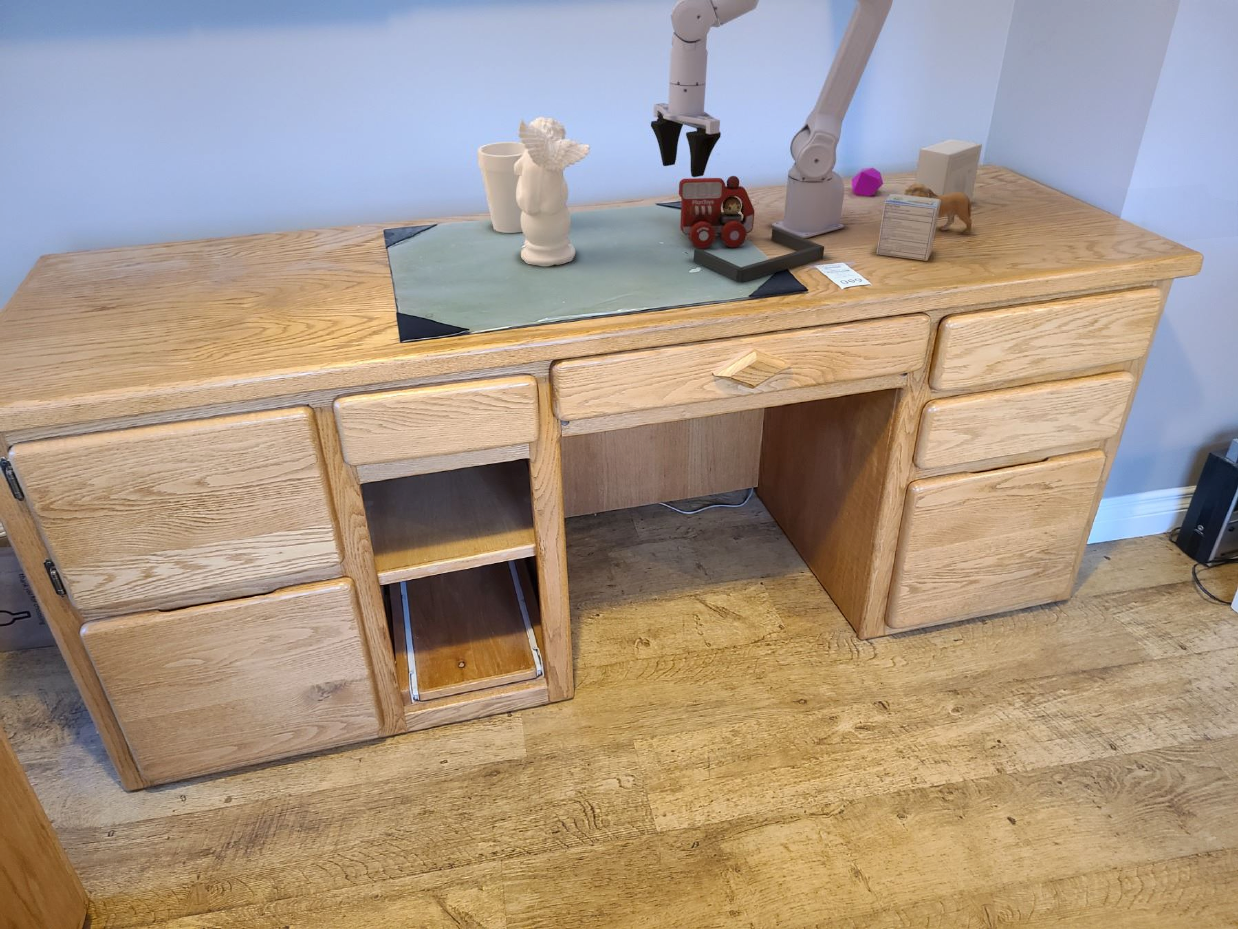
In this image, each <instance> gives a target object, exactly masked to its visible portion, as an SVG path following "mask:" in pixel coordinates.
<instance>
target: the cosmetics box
mask: <svg viewBox="0 0 1238 929" xmlns="http://www.w3.org/2000/svg"><path fill="white" fill-rule="evenodd" d="M982 148H983V144H982V143H980V142H973V141H967V140H961V139H954V138H950V139H947V140H944V141H941V142H937V143H935V144H931V145H928V146H926V147H922V148H919V153H918V161H917V168H916V174H915V179H914V184H919V183H920V184H923V185H925V187H926V188H928V189H930V190H931V191H932V192H933V193H934V194H936V195H937V196H941V195H946V194H949V193H953V192H960V193H964V194H965V195H967V196H968V198H969V199H970V203H971V204H972V200H973V196H974V189H975V183H976V178H977V172H978V168H979V162H980V157H981V153H982Z"/></svg>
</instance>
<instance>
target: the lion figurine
mask: <svg viewBox="0 0 1238 929" xmlns="http://www.w3.org/2000/svg"><path fill="white" fill-rule="evenodd" d="M903 195H909V196H918V197H926V198H934V199H940V200H941V203H940V208H939V214H938V219H939V218H942V217H945V216H947V221H946V223H945V224H943V225H940V226H939V227H938V229H939V230H940V231H946V230H948V229H949V228H950V227H951V226H952V225H953V224H954V223H955V216H957V217H958V219H959V220H960V221H962V223H964V224H965V225H966V228H965V229H963V230H962V234H963V235H970V234H971V231H972V226H973V220H972V218H971V217H972V202H971V203H970V199H969V198H968V196H967V195H965V194H964V193H960V192H953V193H949V194H946V195H941V196H937V195H936V194H934V193H933V192H932V191H931V190H930V189H928V188H926V187H925V185H923V184H920V183H919V184H915V183H912V184H911V185H910V186H909V187H908V188H907V189H905V190H904V194H903Z"/></svg>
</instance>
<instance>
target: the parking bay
mask: <svg viewBox="0 0 1238 929" xmlns="http://www.w3.org/2000/svg"><path fill="white" fill-rule="evenodd" d="M771 230H772V231H771V238H770V239H771V240H770V241H773V243H776V244H780V245H782V246H784V247H786V248H789V249H792V250H795V251H793V252H790V253H785V254H783V255H779V256H776V257H773V258H769V259H765V260H761V261H757V262H754V263H751V264H748V265H747V264H746V265H744V266H739V265H737V264H735V263H732V262H730V261H728V260H726V259H724V258H722V257H720V256H716V255H715V254H712V253H710V252H707V251H705V250H704V249H702V248H697V247H695V248H694V249H693V262H694V263H696V264H699V265H701V266H703V267H705V268H707V269H710V270H712V271H714V272H715V273H718V274H721V275H722V276H724V277H726V278H728V279H731V280H733V281H735V282H737V283H740V284H742V283H745V282H749V281H752V280H755V279H759V278H763V277H766V276H768V275H773V274H775V273H779V272H782V271H786V270H789V269H793V268H796V267H800V266H803V265H806V264H810V263H813V262H816V261H820V260H823V259H824V255H825V254H824V253H825V246H824V245H822V244H820V243H817V242H814V241H811V240H808V239H807V238H802V237H799V236H797V235H794V234H791V233H789V232H786V231H784V230H781V229H778V228H776V227H773V228H772V229H771Z"/></svg>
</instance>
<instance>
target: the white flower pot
mask: <svg viewBox="0 0 1238 929" xmlns="http://www.w3.org/2000/svg"><path fill="white" fill-rule="evenodd" d="M526 150H527V148H525V147H524V144H523V143H522V142H521V141H520V142H519V141H501V142H492V143H487V144H485V145H481V146H480V147H477V162H478V167H479V169H480V173H481V177H482V182H483V187H484V192H485V196H486V201H487V206H488V211H489V214H490V219H491V223H492V226H493V230H494V231H496V232H499V233H503V234H516V233H523V231H522V228H521V220H520V219H521V213H522V210H521V209H520V207H519V205H518V203H517V200H516V188H517V183H518V179H519V175H515V174H514V165H515V163H516V162H517V161H518V160H519V159H520V158H521V157H522V155H523V154H524V152H525V151H526Z"/></svg>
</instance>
